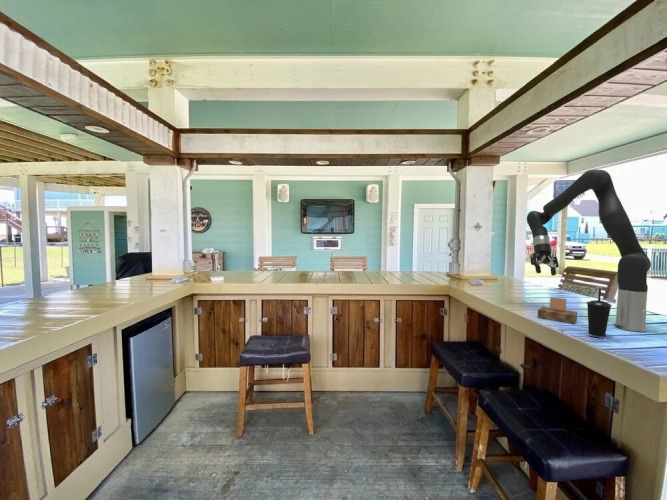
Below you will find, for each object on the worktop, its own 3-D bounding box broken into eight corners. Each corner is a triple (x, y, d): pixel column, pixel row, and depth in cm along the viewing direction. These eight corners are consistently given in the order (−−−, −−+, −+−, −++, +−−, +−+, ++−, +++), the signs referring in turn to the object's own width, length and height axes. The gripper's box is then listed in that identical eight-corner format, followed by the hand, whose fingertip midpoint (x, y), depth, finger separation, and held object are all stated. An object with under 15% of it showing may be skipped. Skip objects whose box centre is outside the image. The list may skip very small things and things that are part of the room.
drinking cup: (587, 338, 121) (591, 288, 120) (581, 332, 128) (585, 285, 126) (612, 341, 118) (616, 290, 116) (605, 335, 124) (608, 287, 123)
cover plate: (565, 320, 143) (566, 299, 142) (564, 320, 142) (566, 299, 141) (549, 317, 147) (550, 297, 146) (549, 317, 146) (550, 297, 145)
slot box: (576, 322, 143) (577, 311, 143) (574, 326, 136) (575, 315, 136) (541, 316, 153) (541, 306, 153) (537, 320, 146) (537, 309, 145)
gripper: (535, 240, 159) (539, 270, 153) (559, 244, 161) (564, 274, 155) (524, 245, 166) (528, 274, 160) (548, 249, 168) (552, 277, 162)
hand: (546, 274), depth 158 cm, fingers open, 8 cm apart
